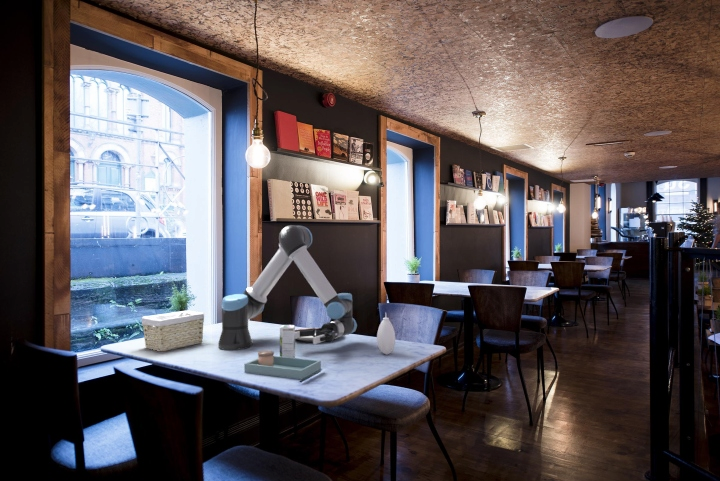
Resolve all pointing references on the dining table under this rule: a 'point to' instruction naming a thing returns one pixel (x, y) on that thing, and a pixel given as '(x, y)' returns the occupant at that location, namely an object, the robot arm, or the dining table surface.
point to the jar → (265, 358)
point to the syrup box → (287, 341)
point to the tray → (285, 367)
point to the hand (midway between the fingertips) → (301, 338)
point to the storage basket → (173, 330)
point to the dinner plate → (307, 338)
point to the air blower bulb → (386, 336)
